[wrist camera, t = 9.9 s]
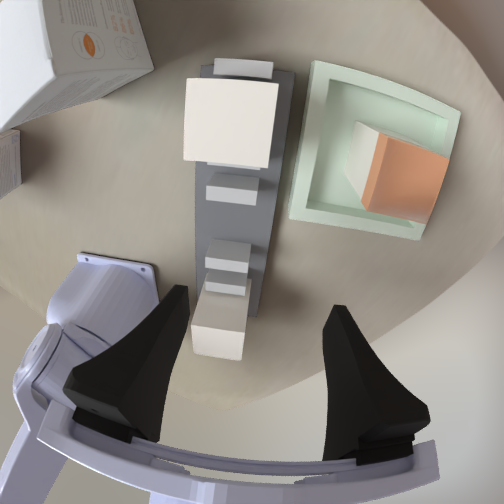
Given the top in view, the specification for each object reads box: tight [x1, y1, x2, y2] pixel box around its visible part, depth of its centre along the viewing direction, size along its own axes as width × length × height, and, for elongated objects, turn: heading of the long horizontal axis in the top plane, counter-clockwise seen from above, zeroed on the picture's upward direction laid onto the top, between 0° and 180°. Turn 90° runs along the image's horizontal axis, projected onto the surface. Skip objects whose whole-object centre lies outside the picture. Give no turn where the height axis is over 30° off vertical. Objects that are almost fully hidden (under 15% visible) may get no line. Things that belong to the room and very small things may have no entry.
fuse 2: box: [191, 273, 252, 361], centre depth 23 cm, size 4×4×6 cm
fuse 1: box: [184, 78, 279, 168], centre depth 13 cm, size 4×4×6 cm
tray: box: [288, 60, 461, 241], centre depth 16 cm, size 11×11×2 cm
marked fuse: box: [343, 120, 450, 224], centre depth 14 cm, size 4×4×6 cm
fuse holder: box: [195, 58, 295, 317], centre depth 20 cm, size 6×23×3 cm, turn 174°
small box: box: [0, 0, 154, 133], centre depth 9 cm, size 8×6×10 cm
